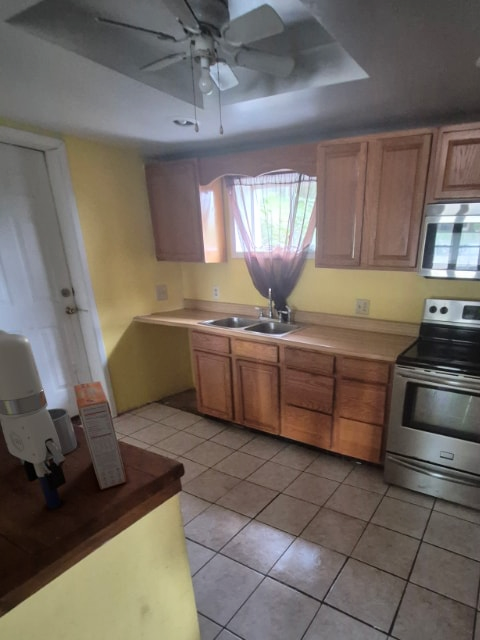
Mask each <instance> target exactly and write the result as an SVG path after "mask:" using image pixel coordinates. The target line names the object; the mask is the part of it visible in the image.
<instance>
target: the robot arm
mask: <svg viewBox="0 0 480 640" xmlns="http://www.w3.org/2000/svg"><path fill="white" fill-rule="evenodd" d="M47 407H48V401H47V397H46V393H45V390H44V387H43V384H42V381H41V375H40V373H39V370H38V365H37V363H36V359H35V355H34V351H33V349H32V346H31V342H30V340H29V339H28V338H27V336H25V335H23V334H20V333H9V332H7V331H6V330H4V329H1V328H0V426H1V429H2V434H3V437H4V440H5V443H6V447H7V451H8V453H10V455H12V456H14V457H16V458H18V459H19V462H20V463H21V464H22V467H23V470H24V472H25V476H26V478H27V481H28V482H30V483H33V482H34V481H36V480H39V479H38V476H37V474H36V470H35V467H34V464H41V465H42V467H43V468H44V470H45V472H46V473H45V474H44V477H45V480H46V483H47V486H48V489H49V490H50V491H53V490H55V489H56V488H57V489H58V488H61V487H62V486H64V485H65V484H66V483H67V481H66V478H65V474H64V471H63V467H64V463H65V461H66V457H65V455H62V453H61V446H60V442H59V438H58V435H57V432H56V429H55V427H54V424H53V422H52V419H51V417H50V414H49V412H48V410H49V409H48V408H47ZM48 453H49V454H50V456H46V454H48ZM50 460H52V462H51V463H49V464H50V466H49V465H48V464H47V462H46V461H50ZM33 463H34V464H33Z"/></svg>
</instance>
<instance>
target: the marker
mask: <svg viewBox="0 0 480 640" xmlns="http://www.w3.org/2000/svg"><path fill="white" fill-rule="evenodd" d="M49 461H50V460H48V461H46V462H47V464H48V465H49V466H50V464H51V463H50V462H49ZM33 464H34V463H33ZM34 467H35V470H36V474H37V476H38V479H37V480H38V481H39V485H40V488H41V491H42V494H43V496H44V500H45V503H46V506H47V508H48V509H50V510H52V509H56V508H59V507H60V506H61V504H62V501H61V497H60V495H59V491H58V488H56V489H55V490H53V491H50V490H49V489H48V486H47V483H46V480H45V477H44V474H45V473H46V472H45V470H44V468H43V467H42V465H41V464H34Z"/></svg>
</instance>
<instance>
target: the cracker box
mask: <svg viewBox="0 0 480 640" xmlns="http://www.w3.org/2000/svg"><path fill="white" fill-rule="evenodd" d="M73 390H74V396H75V401H76V406H77V412H78V415H79V419H80V423H81V427H82V430H83V434H84V438H85V442H86V446H87V448H88V452H89V456H90V459H91V462H92V463H91V464H92V466H93V470H94V473H95V476H96V479H97V483H98V486H99V489H100V490H106V489H109V488H112V487H115V486H119V485H122V484H125V483H127V482H128V480H127V477H126V473H125V467H124V464H123V460H122V455H121V451H120V447H119V442H118V438H117V434H116V429H115V424H114V419H113V416H112V411H111V406H110V402H109V400H108V398H107V397H108V396H107V395H106V393H105V390H104V388H103V385H102V382H101V381H99V380H98V381H94V382H88V383H81V384H76V385H73Z"/></svg>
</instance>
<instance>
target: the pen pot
mask: <svg viewBox="0 0 480 640" xmlns="http://www.w3.org/2000/svg"><path fill="white" fill-rule="evenodd" d="M47 410H48V412H49V414H50V417H51V419H52V422H53V424H54V427H55V429H56V432H57V435H58V438H59V442H60V446H61V453H62V455H63V456H65V455H66V454H69V453H71V452H73V451H74V450H75V449H76V448H77V447H78V441H77V437H76V434H75V430H74V426H73V422H72V418H71V414H70V411H69V410H68V409H67V408H62V407H61V408H59V407H58V408H57V407H56V408H50V409H47ZM47 456H50V454H49V453H48V454H46V457H47Z"/></svg>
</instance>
